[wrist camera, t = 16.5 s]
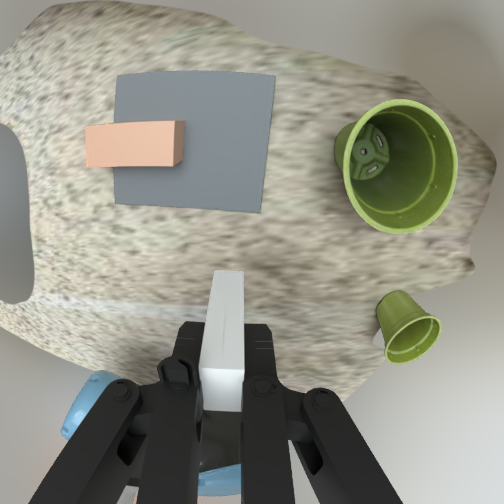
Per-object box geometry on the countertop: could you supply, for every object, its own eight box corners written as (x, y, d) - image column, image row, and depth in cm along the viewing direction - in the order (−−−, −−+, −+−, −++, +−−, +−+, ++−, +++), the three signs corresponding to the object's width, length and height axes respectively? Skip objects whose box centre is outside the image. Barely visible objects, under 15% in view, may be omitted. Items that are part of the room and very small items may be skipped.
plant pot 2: (417, 314, 42) (439, 348, 34) (369, 335, 43) (386, 373, 35) (415, 272, 38) (443, 306, 30) (362, 295, 39) (383, 334, 31)
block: (173, 166, 26) (86, 167, 25) (183, 159, 30) (104, 160, 29) (174, 120, 23) (85, 126, 23) (184, 120, 27) (104, 124, 27)
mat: (259, 211, 33) (259, 213, 33) (116, 202, 32) (115, 203, 32) (275, 76, 26) (275, 75, 25) (119, 76, 25) (117, 75, 24)
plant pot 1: (343, 83, 26) (388, 70, 16) (416, 140, 29) (474, 156, 19) (293, 166, 31) (316, 191, 21) (371, 214, 33) (414, 255, 23)
